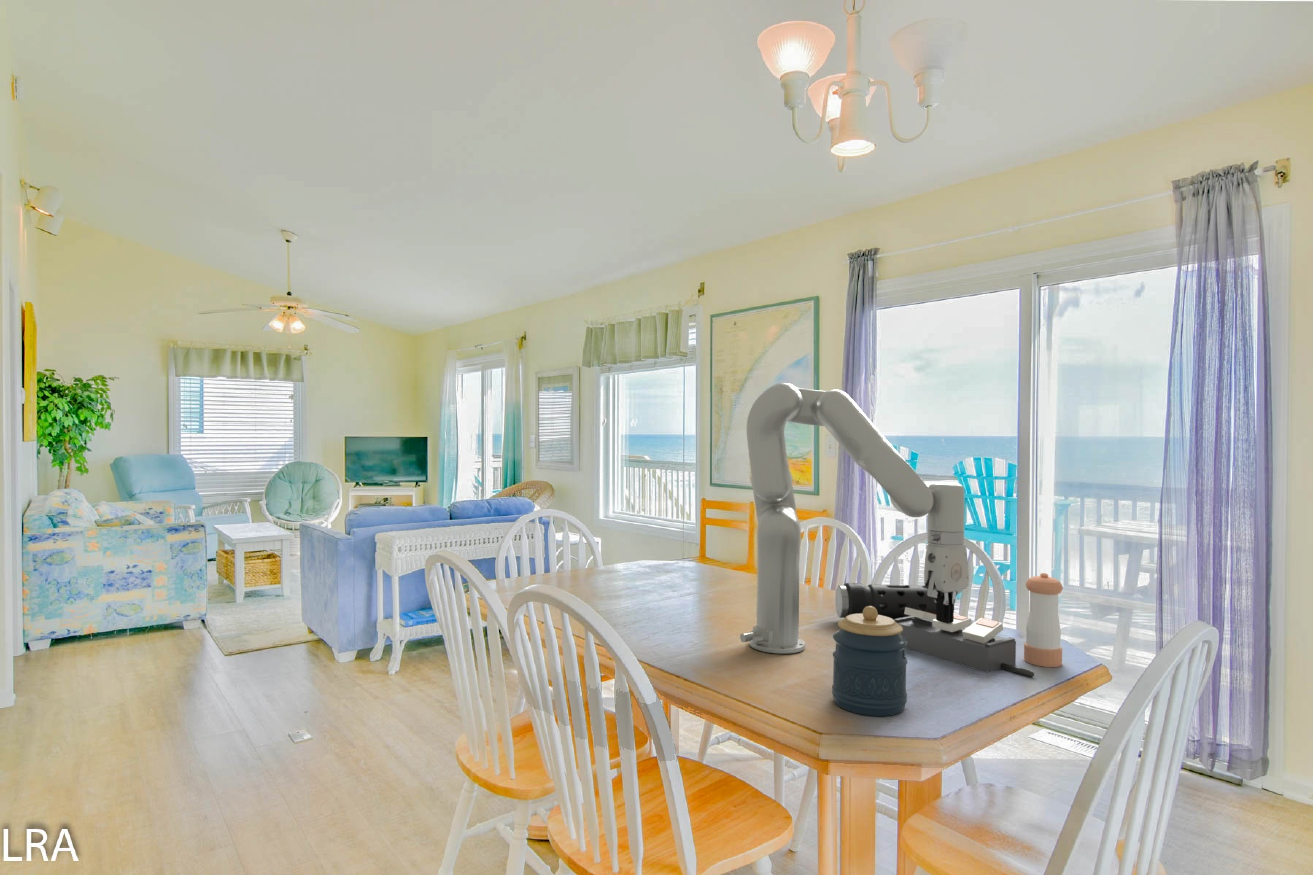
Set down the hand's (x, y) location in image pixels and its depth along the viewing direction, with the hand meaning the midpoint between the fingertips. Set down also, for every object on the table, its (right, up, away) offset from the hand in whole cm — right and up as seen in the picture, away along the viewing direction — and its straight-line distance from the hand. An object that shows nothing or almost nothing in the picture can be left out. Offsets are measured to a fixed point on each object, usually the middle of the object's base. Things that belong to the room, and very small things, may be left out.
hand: (944, 621), depth 161 cm
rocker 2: (+2, -1, +2) cm, 3 cm away
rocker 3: (+6, -1, -5) cm, 8 cm away
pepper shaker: (+20, -8, -3) cm, 22 cm away
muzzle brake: (-3, -8, +27) cm, 29 cm away
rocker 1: (-2, -1, +8) cm, 8 cm away
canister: (-25, -8, -29) cm, 40 cm away
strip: (+4, -8, -1) cm, 9 cm away
